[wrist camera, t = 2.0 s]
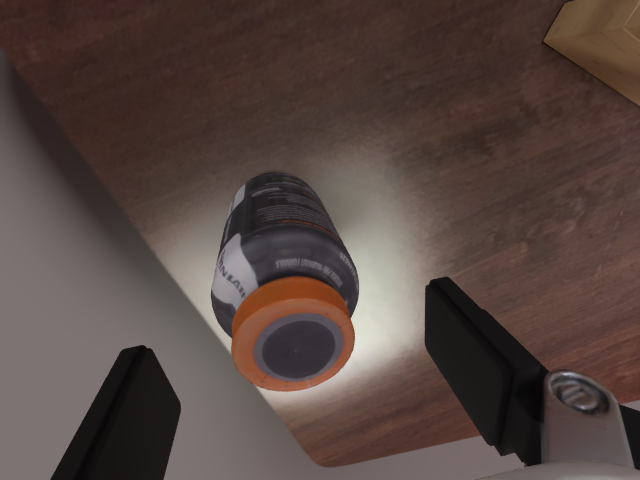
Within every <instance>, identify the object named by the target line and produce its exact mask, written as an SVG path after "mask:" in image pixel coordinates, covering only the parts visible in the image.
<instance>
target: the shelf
mask: <svg viewBox="0 0 640 480" xmlns="http://www.w3.org/2000/svg"><path fill="white" fill-rule="evenodd" d="M543 42H545V43H546V44H548V45H549V46H550V47H552V48H553V49H555V50H556V51H558V52H559V53H561V54H562V55H564V56H565V57H567V58H568V59H570V60H571V61H573V62H574V63H576V64H577V65H579V66H580V67H582V68H583V69H585V70H586V71H588V72H589V73H591V74H592V75H593V76H595V77H596V78H598V79H599V80H601V81H602V82H604V83H605V84H607V85H608V86H610V87H611V88H613V89H614V90H616V91H617V92H619V93H620V94H622V95H623V96H625V97H626V98H628V99H629V100H631V101H632V102H634V103H635V104H636V105H638V106H639V107H640V0H574V1H570V2H567V3H565V4H564V5H563V7H562V9H561V10H560V12H559V14H558V16H557V17H556V19H555V21H554V23H553V24H552V26H551V28H550V30H549V31H548V33H547V35H546V37H545V38H544V40H543Z"/></svg>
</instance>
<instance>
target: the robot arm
mask: <svg viewBox="0 0 640 480" xmlns="http://www.w3.org/2000/svg"><path fill="white" fill-rule="evenodd" d="M425 346H426V349H427V351H428V353H429V354H430V356H431V358H432V359H433V361H434V362H435V364H436V365H437V367H438V368H439V370H440V372H441V373H442V375H443V376H444V378H445V379H446V381H447V382H448V384H449V386H450V387H451V389H452V390H453V392H454V393H455V395H456V396H457V398H458V400H459V401H460V403H461V404H462V406H463V407H464V409H465V410H466V412H467V414H468V415H469V417H470V418H471V420H472V421H473V423H474V424H475V426H476V428H477V429H478V431H479V432H480V434H481V435H482V437H483V438H484V440H485V441H486V443H487V444H488V445H490V446H492V445H494V446H495V448H496V449H497V451H498V452H499V454H500V455H501V456H505V455H508V454H512V453H516V455H517V456H518V457H519V459H520V460H521V462H524V468H519V469H515V470H511V471H507V472H503V473H499V474H496V475H492V476H488V477H484V478H480V479H476V480H640V411H637V410H634V409H632V408H629V407H626V406H623V405H620V404H618V402H617V400H616V398H615V396H614V395H613V394H612V393H611V392H610V391H609V389H608V388H606V387H605V386H604V385H603V384H601V383H600V382H599V381H597V380H595V379H593V378H592V377H590V376H588V375H585V374H583V373H580V372H577V371H572V370H566V369H563V370H555V371H552V372H549V371H548V370H547V369H546V368H545V367H544V366H543V365H542V364H541V363H540V362H539V361H538V360H537V359H536V358H535V357H534V356H532V355H531V354H530V353H529V352H528V351H527V350H526V349H525V348H524V347H523V346H522V345H521V344H520V343H519V342H518V341H517V340H516V339H515V338H514V337H513V336H512V335H511V334H510V333H509V332H508V331H507V330H506V329H505V328H503V327H502V326H501V325H500V324H499V323H498V322H497V321H496V320H495V319H494V318H493V317H492V316H491V315H490V314H489V313H488V312H487V311H485V310H484V309H481V308H480V307H479V306H478V305H477V304H476V303H475V302H474V301H473V300H472V299H471V298H470V297H469V296H468V295H467V294H465V293H464V292H463V291H462V290H461V289H460V288H459V287H458V286H457V285H456V284H455V283H454V282H453V281H452V280H451V279H450V278H449V277H442V278H438V279H433V280H431V281H430V283H429V285H427V286H426V288H425ZM180 412H181V405H180V401H179V399H178V397H177V396H176V394H175V392H174V390H173V388H172V386H171V384H170V382H169V380H168V379H167V377H166V375H165V373H164V371H163V369H162V367H161V365H160V363H159V361H158V360H157V358H156V356H155V354H154V352H153V350H152V349H151V348H146V347H145V346H144V345H140V346H136V347H131V348H126V349H123V350H122V351H121V352H120V354H119V356H118V357H117V359H116V361H115V363H114V365H113V367H112V368H111V370H110V372H109V374H108V376H107V377H106V379H105V381H104V383H103V385H102V387H101V388H100V390H99V392H98V394H97V396H96V397H95V399H94V401H93V403H92V405H91V407H90V409H89V410H88V412H87V414H86V416H85V417H84V419H83V421H82V423H81V425H80V427H79V428H78V430H77V432H76V434H75V436H74V437H73V439H72V441H71V443H70V445H69V447H68V448H67V450H66V452H65V454H64V456H63V457H62V459H61V461H60V463H59V465H58V467H57V468H56V471H55V472H54V474H53V476H52V478H51V479H50V480H163V479H164V475H165V471H166V467H167V464H168V460H169V456H170V452H171V448H172V444H173V440H174V436H175V433H176V429H177V425H178V421H179V416H180Z"/></svg>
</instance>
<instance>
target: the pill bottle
mask: <svg viewBox="0 0 640 480" xmlns="http://www.w3.org/2000/svg"><path fill="white" fill-rule="evenodd" d="M358 295H359V280H358V274H357V270H356V267H355V265H354V263H353V261H352V259H351V257H350V254H349V253H348V251H347V249H346V247H345V246H344V244H343V242H342V240H341V238H340V236H339V234H338V232H337V230H336V228H335V227H334V225H333V223H332V221H331V219H330V217H329V215H328V213H327V211H326V209H325V207H324V206H323V204H322V202H321V200H320V198H319V197H318V196H317V194H316V193H315V191H314V190H313V189H312V188H311V187H310V186H309V185H308V184H307V183H305V182H304V181H302V180H300V179H298V178H296V177H294V176H291V175H288V174H284V173H279V174H277V173H271V174H265V175H261V176H258V177H255V178H253V179H251V180H250V181H248V182H246V183H245V184H244V185H243V186H242V187H241V188H240V189H239V190H238V191H237V193H236V194H235V196H234V197H233V199H232V201H231V204H230V207H229V211H228V216H227V220H226V225H225V228H224V233H223V237H222V241H221V246H220V251H219V255H218V259H217V264H216V269H215V274H214V278H213V283H212V289H211V300H212V307H213V311H214V313H215V316H216V319H217V321H218V323H219V324H220V326H221V327H222V329H223V330H224V331H225V332H226V333H227V334H228V335H229V336H230V337H231V338H232V347H231V352H232V357H233V362H234V365H235V367H236V368H237V370H238V371H239V373H240V374H241V375H242V376H243V377H244V378H246V379H247V380H248V381H249V382H250V383H252V384H254V385H256V386H258V387H261V388H264V389H267V390H273V391H287V392H288V391H297V390H303V389H307V388H311V387H314V386H316V385H318V384H320V383H322V382H324V381H326V380H328V379H330V378H331V377H333V376H334V375H335V374H336V373H337V372H338V371H340V369H341V368H343V366H344V365H345V364H346V362H347V361H348V359H349V358H350V355H351V353H352V351H353V348H354V342H355V333H354V328H353V325H352V322H351V319H350V318H351V317H352V315H353V312H354V310H355V307H356V305H357V301H358Z"/></svg>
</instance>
